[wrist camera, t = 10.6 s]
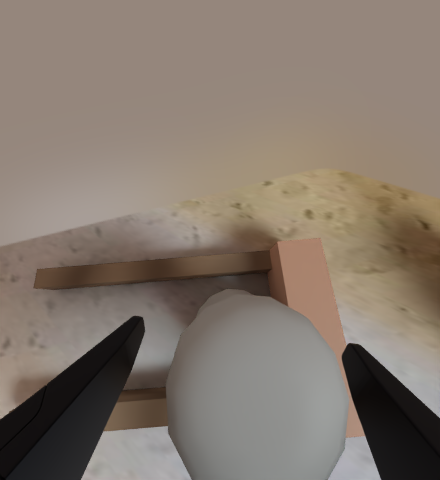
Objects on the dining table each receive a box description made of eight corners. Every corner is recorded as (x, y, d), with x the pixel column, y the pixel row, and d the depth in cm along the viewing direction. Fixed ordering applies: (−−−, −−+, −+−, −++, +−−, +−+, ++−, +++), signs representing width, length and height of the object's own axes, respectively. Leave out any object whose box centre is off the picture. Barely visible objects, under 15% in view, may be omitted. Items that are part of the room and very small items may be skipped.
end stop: (286, 400, 15) (311, 440, 11) (264, 255, 18) (277, 241, 14) (326, 397, 15) (368, 435, 11) (297, 253, 18) (320, 237, 14)
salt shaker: (210, 282, 18) (176, 231, 5) (274, 301, 17) (413, 297, 5) (188, 354, 16) (59, 537, 3) (258, 378, 15) (410, 705, 3)
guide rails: (32, 422, 15) (3, 439, 13) (57, 272, 18) (37, 269, 16) (286, 400, 15) (295, 415, 13) (264, 255, 18) (269, 250, 16)
